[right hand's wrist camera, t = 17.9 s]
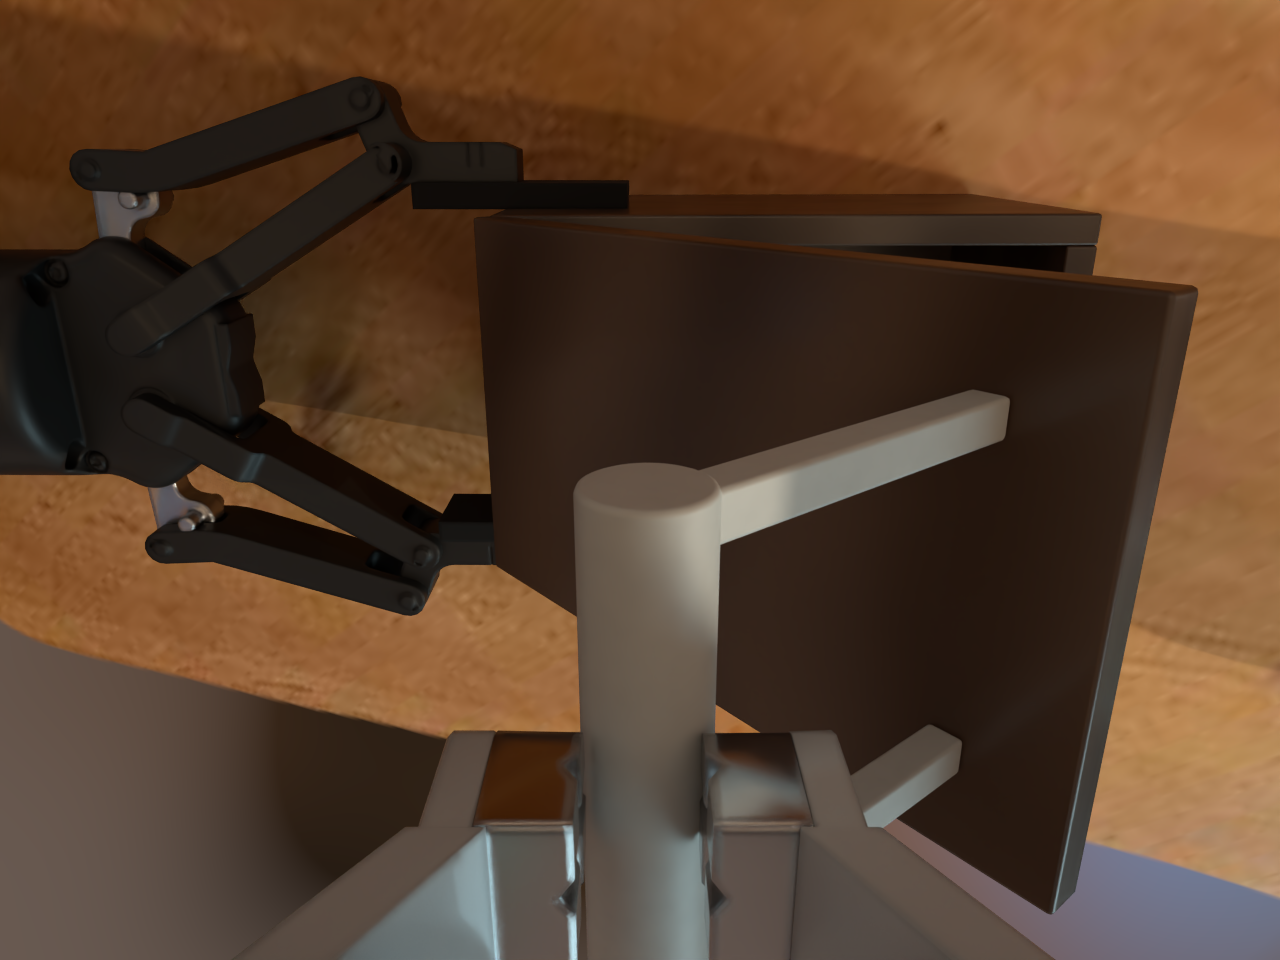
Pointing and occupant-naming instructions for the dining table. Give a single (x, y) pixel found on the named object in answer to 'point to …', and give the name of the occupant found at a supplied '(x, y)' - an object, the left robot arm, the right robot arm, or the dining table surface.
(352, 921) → the right robot arm
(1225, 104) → the dining table surface
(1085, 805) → the lid
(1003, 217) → the chest
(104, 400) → the left robot arm
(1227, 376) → the dining table surface
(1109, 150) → the dining table surface
